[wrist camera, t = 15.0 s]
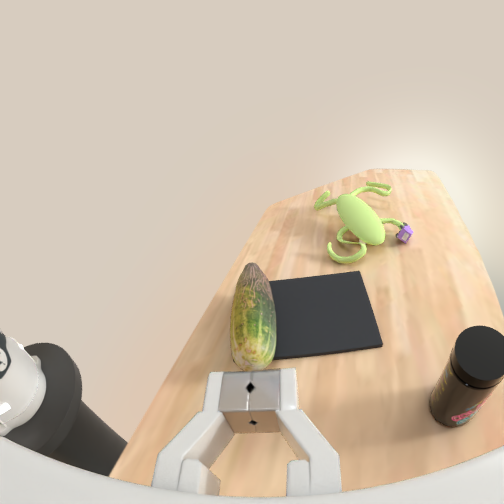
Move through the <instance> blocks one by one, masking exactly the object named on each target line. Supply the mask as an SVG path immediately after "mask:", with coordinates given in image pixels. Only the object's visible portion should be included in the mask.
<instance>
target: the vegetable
mask: <svg viewBox="0 0 504 504" xmlns="http://www.w3.org/2000/svg"><path fill="white" fill-rule="evenodd" d="M230 342H231V351H232V356H233V359H234V361H235V363H236V364H237V365H238V366H239V367H240V368H241V369H242V370H244V371H255V370H262V369H264V368H266V367H267V366H268V365H269V364H270V363H271V361H272V359H273V357H274V354H275V349H276V312H275V305H274V301H273V297H272V292H271V287H270V284H269V281H268V279H267V277H266V276H265V274H264V273H263V272H262V271H261V270H260V268H259V267H258V265H257V264H255V263H248V264H247V265H246V266H245V268H244V270H243V272H242V274H241V275H240V277H239V279H238V282H237V285H236V292H235V296H234V300H233V306H232V313H231V324H230Z"/></svg>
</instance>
